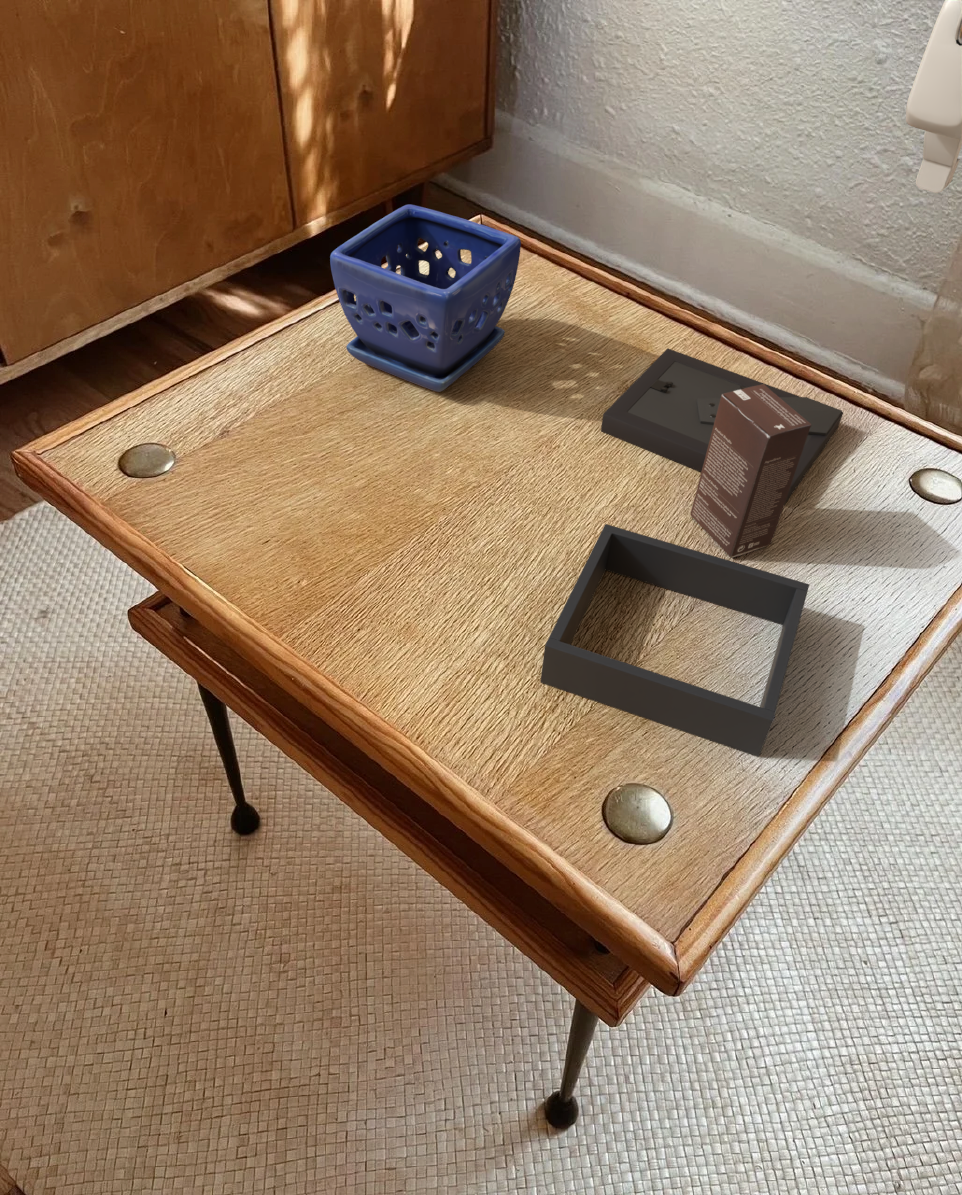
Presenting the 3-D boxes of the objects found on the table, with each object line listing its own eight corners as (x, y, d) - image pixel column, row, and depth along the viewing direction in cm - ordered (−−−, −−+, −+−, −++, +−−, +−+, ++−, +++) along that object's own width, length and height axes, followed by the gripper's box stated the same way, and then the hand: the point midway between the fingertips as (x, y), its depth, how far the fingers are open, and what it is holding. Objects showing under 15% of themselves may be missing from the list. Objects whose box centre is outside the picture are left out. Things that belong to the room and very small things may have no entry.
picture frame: (837, 429, 95) (664, 364, 101) (844, 409, 93) (668, 345, 99) (784, 506, 87) (599, 431, 93) (791, 486, 85) (602, 410, 92)
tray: (795, 621, 78) (809, 583, 75) (758, 757, 69) (773, 720, 66) (599, 561, 81) (605, 523, 78) (539, 682, 72) (544, 645, 69)
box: (774, 544, 83) (815, 423, 75) (729, 560, 82) (765, 438, 73) (730, 500, 87) (764, 380, 78) (686, 514, 86) (716, 393, 77)
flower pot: (330, 367, 98) (321, 251, 90) (409, 309, 107) (408, 197, 98) (446, 414, 94) (448, 296, 85) (519, 349, 102) (528, 236, 93)
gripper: (1054, -37, 50) (949, 235, 59) (1151, -106, 61) (1051, 131, 71) (927, -63, 52) (847, 202, 62) (1044, -124, 64) (961, 107, 74)
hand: (957, 163), depth 67 cm, fingers open, 8 cm apart
